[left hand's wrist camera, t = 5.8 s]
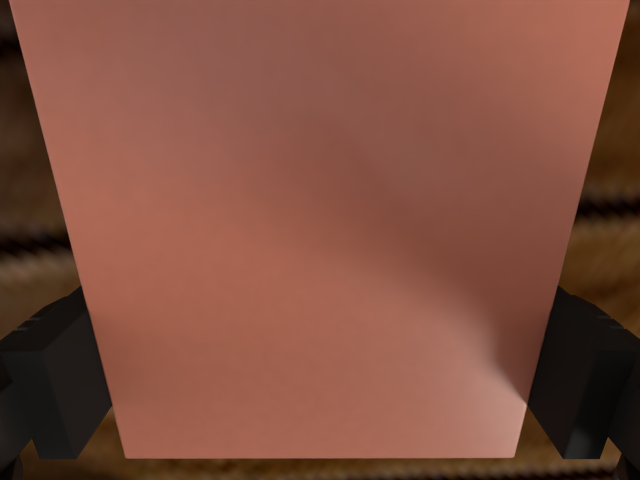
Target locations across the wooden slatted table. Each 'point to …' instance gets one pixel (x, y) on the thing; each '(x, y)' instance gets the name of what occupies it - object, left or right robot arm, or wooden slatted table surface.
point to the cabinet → (319, 211)
